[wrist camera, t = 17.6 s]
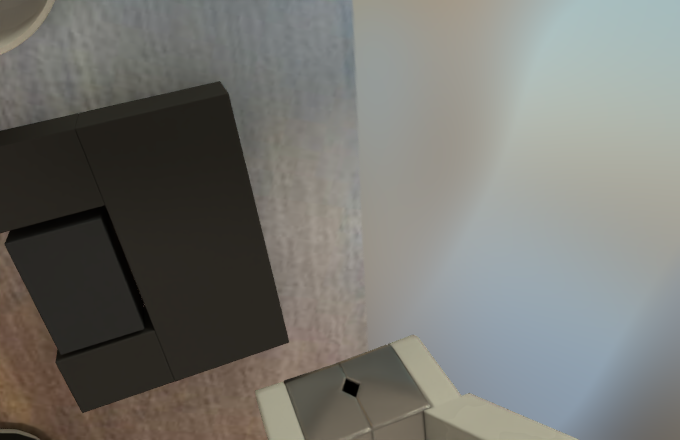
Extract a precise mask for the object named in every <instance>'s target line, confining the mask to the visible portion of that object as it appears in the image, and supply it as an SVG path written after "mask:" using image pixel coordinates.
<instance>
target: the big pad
mask: <svg viewBox="0 0 680 440" xmlns="http://www.w3.org/2000/svg"><path fill="white" fill-rule="evenodd" d="M104 205H105V206H106V208H107V211H108V213H109V216H110V218H111V221H112V223H113V226H114V228H115V231H116V233H117V236H118V239H119V241H120V244H121V246H122V249H123V251H124V254H125V256H126V259H127V261H128V264H129V266H130V269H131V271H132V274H133V276H134V279H135V281H136V284H137V286H138V289H139V291H140V294H141V296H142V299H143V302H144V304H145V307H144V308H143V313H144V329H143V330H140V331H137V332H133V333H130V334H127V335H124V336H120V337H117V338H114V339H111V340H108V341H104V342H101V343H98V344H95V345H91V346H88V347H85V348H82V349H79V350H75V351H72V352H69V353H66V354H63V355H61V354H60V352H59V350H57V357H56V364H57V366H58V368H59V370H60V372H61V374H62V376H63V377H64V379H65V381H66V383H67V385H68V387H69V389H70V391H71V393H72V394H73V396H74V398H75V400H76V402H77V404H78V406H79V408H80V409H81V411H82V413H84V412H87V411H90V410H93V409H96V408H98V407H101V406H104V405H107V404H110V403H113V402H116V401H119V400H122V399H125V398H128V397H131V396H133V395H136V394H139V393H142V392H145V391H148V390H151V389H154V388H157V387H160V386H163V385H166V384H168V383H171V382H174V381H178V380H181V379H184V378H187V377H190V376H193V375H195V374H198V373H201V372H204V371H207V370H210V369H213V368H216V367H219V366H222V365H225V364H228V363H230V362H233V361H236V360H239V359H242V358H245V357H248V356H251V355H254V354H257V353H260V352H263V351H265V350H268V349H271V348H274V347H277V346H280V345H283V344H286V343H289V340H288V335H287V331H286V327H285V323H284V319H283V315H282V311H281V307H280V303H279V299H278V295H277V291H276V286H275V282H274V278H273V274H272V270H271V266H270V262H269V258H268V254H267V250H266V246H265V242H264V237H263V233H262V229H261V225H260V221H259V217H258V213H257V209H256V205H255V201H254V197H253V192H252V188H251V184H250V180H249V176H248V172H247V168H246V164H245V160H244V156H243V152H242V148H241V143H240V139H239V135H238V131H237V127H236V123H235V119H234V115H233V111H232V107H231V103H230V99H229V94H228V93H227V91H226V90H225V88H224V87H223V85H222V84H221V82H215V83H211V84H206V85H202V86H197V87H193V88H188V89H184V90H180V91H175V92H171V93H166V94H162V95H158V96H153V97H149V98H144V99H140V100H136V101H131V102H127V103H122V104H118V105H113V106H109V107H105V108H100V109H96V110H91V111H87V112H83V113H79V114H74V115H69V116H65V117H60V118H56V119H52V120H47V121H43V122H38V123H34V124H29V125H25V126H21V127H16V128H12V129H7V130H3V131H0V233H3V232H6V231H10V230H14V229H18V228H21V227H25V226H29V225H33V224H37V223H40V222H44V221H48V220H52V219H55V218H59V217H63V216H67V215H71V214H74V213H78V212H82V211H86V210H89V209H93V208H97V207H101V206H104Z"/></svg>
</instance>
